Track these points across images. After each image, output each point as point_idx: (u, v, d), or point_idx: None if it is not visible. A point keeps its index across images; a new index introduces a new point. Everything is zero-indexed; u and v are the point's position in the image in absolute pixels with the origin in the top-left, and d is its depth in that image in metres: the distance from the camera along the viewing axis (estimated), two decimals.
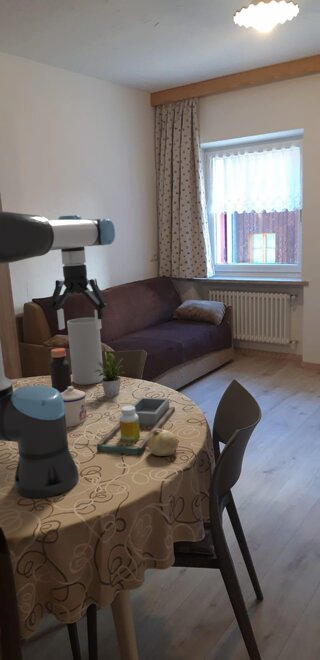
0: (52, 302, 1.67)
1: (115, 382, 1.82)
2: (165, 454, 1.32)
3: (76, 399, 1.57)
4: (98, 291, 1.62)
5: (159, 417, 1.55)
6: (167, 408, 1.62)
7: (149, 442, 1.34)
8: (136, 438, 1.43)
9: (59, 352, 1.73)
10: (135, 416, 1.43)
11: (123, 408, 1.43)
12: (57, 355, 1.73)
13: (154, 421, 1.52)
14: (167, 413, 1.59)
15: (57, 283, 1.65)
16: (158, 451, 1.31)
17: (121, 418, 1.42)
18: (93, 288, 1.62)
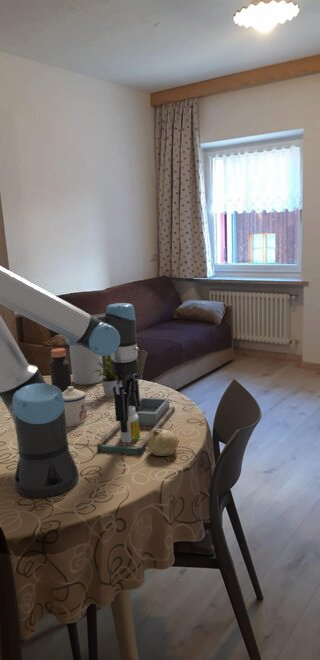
0: None
1: (115, 382, 1.82)
2: (165, 454, 1.32)
3: (76, 399, 1.57)
4: (117, 402, 1.37)
5: (159, 417, 1.55)
6: (167, 408, 1.62)
7: (149, 442, 1.34)
8: (136, 438, 1.43)
9: (59, 352, 1.73)
10: (135, 416, 1.43)
11: None
12: (57, 355, 1.73)
13: (154, 421, 1.52)
14: (167, 413, 1.59)
15: None
16: (158, 451, 1.31)
17: None
18: None
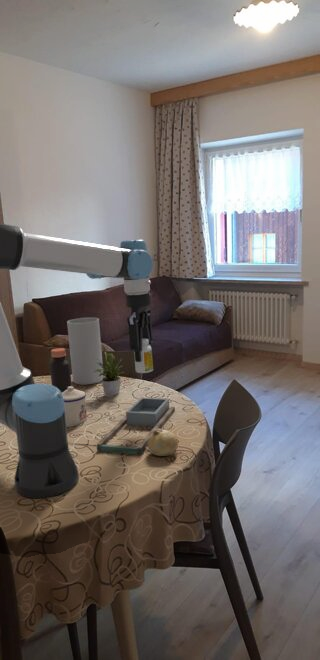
0: None
1: (115, 382, 1.82)
2: (165, 454, 1.32)
3: (76, 399, 1.57)
4: (131, 332, 1.46)
5: (159, 417, 1.55)
6: (167, 408, 1.62)
7: (149, 442, 1.34)
8: (149, 368, 1.52)
9: (59, 352, 1.73)
10: (148, 347, 1.51)
11: None
12: (57, 355, 1.73)
13: (154, 421, 1.52)
14: (167, 413, 1.59)
15: None
16: (158, 451, 1.31)
17: None
18: None
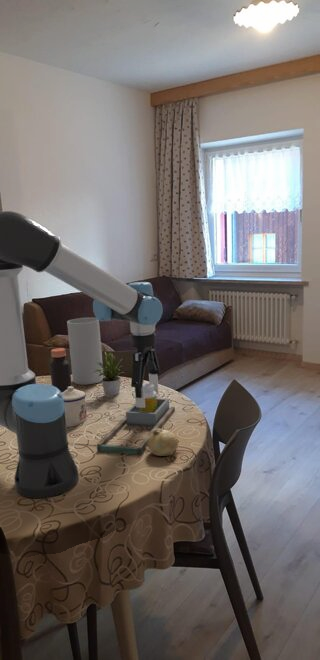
0: None
1: (115, 382, 1.82)
2: (165, 454, 1.32)
3: (76, 399, 1.57)
4: (135, 368, 1.49)
5: (159, 417, 1.55)
6: (167, 408, 1.62)
7: (149, 442, 1.34)
8: None
9: (59, 352, 1.73)
10: (154, 393, 1.57)
11: (143, 385, 1.58)
12: (57, 355, 1.73)
13: (154, 421, 1.52)
14: (167, 413, 1.59)
15: None
16: (158, 451, 1.31)
17: None
18: None
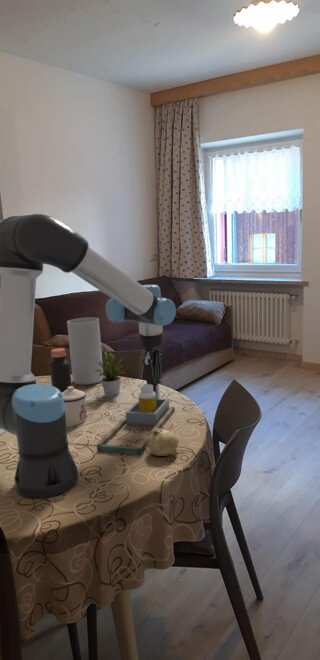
0: None
1: (115, 382, 1.82)
2: (165, 454, 1.32)
3: (76, 399, 1.57)
4: (147, 371, 1.60)
5: (159, 417, 1.55)
6: (167, 408, 1.62)
7: (149, 442, 1.34)
8: None
9: (59, 352, 1.73)
10: (153, 393, 1.57)
11: (142, 386, 1.58)
12: (57, 355, 1.73)
13: (154, 421, 1.52)
14: (167, 413, 1.59)
15: None
16: (158, 451, 1.31)
17: (140, 395, 1.57)
18: None
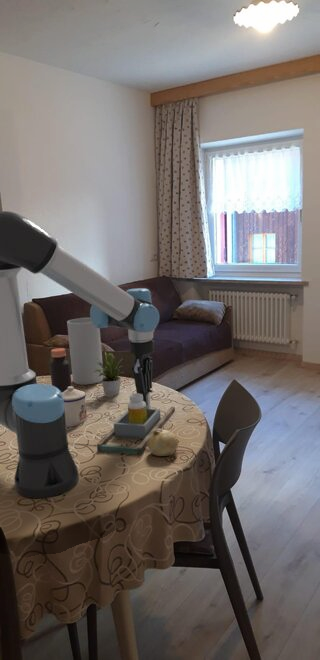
0: None
1: (115, 382, 1.82)
2: (165, 454, 1.32)
3: (76, 399, 1.57)
4: (137, 380, 1.51)
5: (149, 429, 1.46)
6: (158, 419, 1.54)
7: (149, 442, 1.34)
8: None
9: (59, 352, 1.73)
10: (143, 403, 1.49)
11: (131, 395, 1.49)
12: (57, 355, 1.73)
13: (143, 433, 1.43)
14: (167, 413, 1.59)
15: None
16: (158, 451, 1.31)
17: (129, 405, 1.48)
18: None
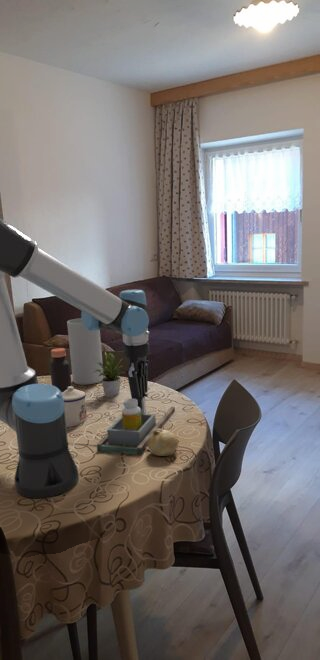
0: None
1: (115, 382, 1.82)
2: (165, 454, 1.32)
3: (76, 399, 1.57)
4: (131, 384, 1.47)
5: (143, 435, 1.42)
6: (153, 425, 1.49)
7: (149, 442, 1.34)
8: None
9: (59, 352, 1.73)
10: (137, 408, 1.44)
11: (125, 401, 1.45)
12: (57, 355, 1.73)
13: (138, 440, 1.39)
14: (167, 413, 1.59)
15: None
16: (158, 451, 1.31)
17: (123, 410, 1.44)
18: None
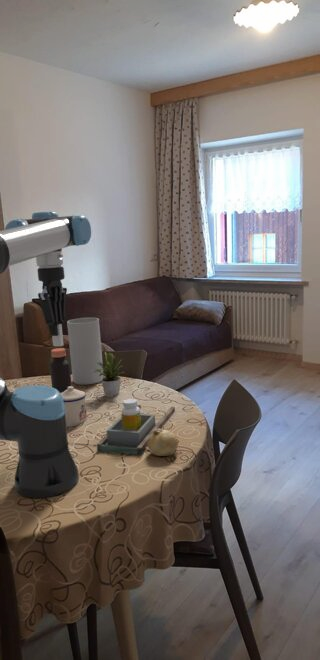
0: None
1: (115, 382, 1.82)
2: (165, 454, 1.32)
3: (76, 399, 1.57)
4: (44, 307, 1.45)
5: (143, 436, 1.41)
6: (152, 425, 1.49)
7: (149, 442, 1.34)
8: None
9: (59, 352, 1.73)
10: (137, 409, 1.44)
11: (125, 401, 1.44)
12: (57, 355, 1.73)
13: (137, 441, 1.39)
14: (167, 413, 1.59)
15: None
16: (158, 451, 1.31)
17: (123, 411, 1.44)
18: None
